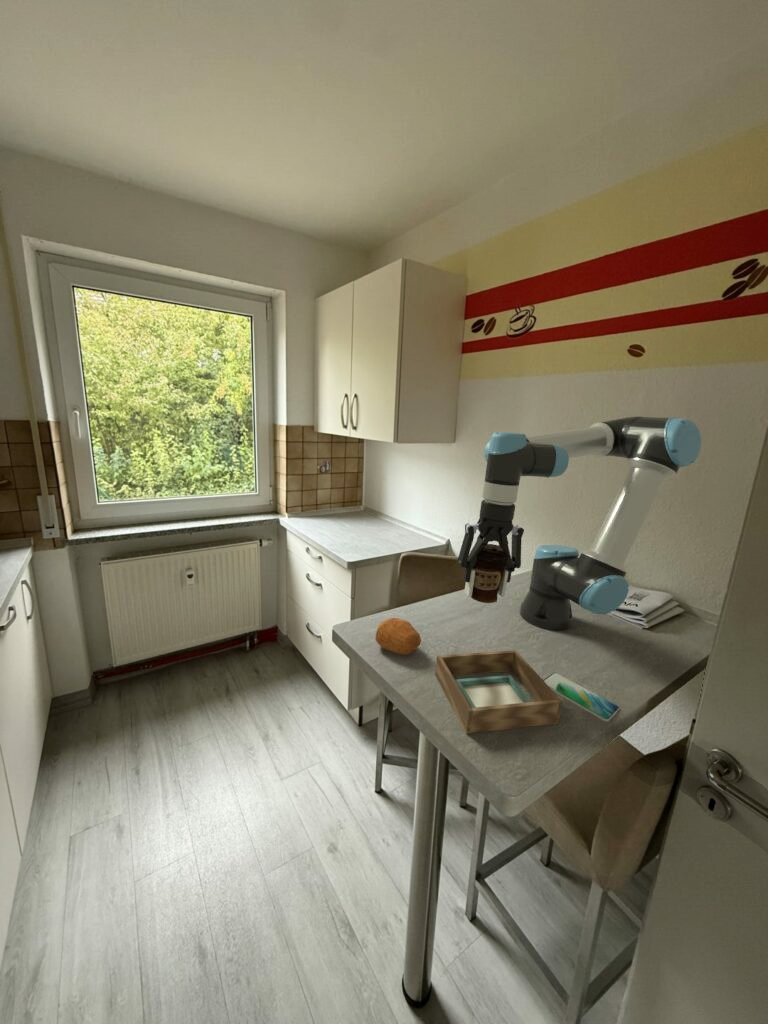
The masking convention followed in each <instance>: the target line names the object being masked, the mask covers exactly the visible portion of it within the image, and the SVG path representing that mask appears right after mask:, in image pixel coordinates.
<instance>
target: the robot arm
mask: <svg viewBox="0 0 768 1024" xmlns="http://www.w3.org/2000/svg"><path fill="white" fill-rule="evenodd" d="M701 447H702V437H701V431H700V428H699V427H698V425H697V423H695V422H694V421H693V420H690V419H688V418H678V417H674V416H672V417H660V416H659V417H652V416H651V417H650V416H628V417H623V418H617V419H611V420H605V421H600V422H595V423H593V424H591V425H590V426H589V427H584V428H578V429H577V428H576V429H572V430H568V429H567V430H563V431H556V432H555V431H554V432H549V433H542V434H535V435H528V436H527V435H526V434H525V433H519V432H518V433H517V432H509V431H508V432H506V431H495V432H494V433H493V434H491V437H490V440H488V442H487V443H486V445H485V448H484V451H483V454H484V459H485V461H486V468H485V476H484V482H483V488H482V495H481V496H482V498H483V500H482V501H481V503H480V508H479V509H480V510H479V518H478V521H477V523H473V524H470V523H466V524H465V525H464V537H463V539H462V544H461V547H460V550H459V554H458V557H457V561H456V562H457V563H458V565H459V566H460V567H461V568H464V569H463V577H462V579H463V581H464V583H465V585H464V593H465V594H466V595H467V597H469V598H471V597H472V591H473V584H474V577H475V570H474V569H473V567H474V565H475V563H476V561H477V557H476V556H477V555H478V554H479V552H480V551H481V552H482V550H481V549H484V547H485V546H486V545H487V544H489V542H497V543H498V545H499V547H500V548H501V549H503V550H506V553H507V554H508V556H509V558H508V560H507V562H506V564H505V568H504V573H503V578H502V581H501V583H500V587H499V591H498V593H497V594H498V595H499V596H500V597H501V598H505V595H506V590H507V589H506V588H507V584H508V583H510V582H511V577H512V573H513V572H515V569H520V568H521V566H522V538H523V535H524V533H525V529H524V528H523V527H522V526H519V525H514V523H513V520H514V517H515V511H516V505H515V503H517V499H518V494H519V493H518V492H519V488H520V487H519V486H520V481H521V477H537V478H540V477H541V478H548V479H549V478H556V477H559V476H562V475H563V474H564V473H565V472H566V470H567V468H568V467H569V461H570V459H573V458H579V457H586V456H590V455H591V456H594V457H599V458H601V457H606V456H607V457H618V458H622V459H626V463H627V464H628V467H629V469H628V471H627V474H626V475H625V477H624V479H623V482H622V484H621V486H620V488H619V489H618V492H617V493H616V496H615V498H614V500H613V502H612V504H611V506H610V507H609V510H608V512H607V514H606V515H605V516H606V517H605V518H604V520H603V522H602V525H601V526H600V528H599V530H598V532H597V534H596V536H595V539H594V540H593V542H592V545H591V547H590V548H589V549H587V550H583V551H581V553H580V552H579V549H577V548H575V547H571V546H566V545H559V544H543V545H540V546H538V547H537V548H536V550H535V554H534V557H533V564H532V570H531V578H530V583H529V588H528V591H527V593H526V595H525V598H524V599H523V601H522V602H521V603H520V607H519V615H520V617H521V618H522V619H524V620H525V621H526V622H528V623H529V624H531V625H534V626H536V627H539V628H542V629H547V630H551V631H562V630H567V629H570V627H571V626H572V624H573V611H572V606H571V602H573V603H574V604H577V605H578V606H580V607H581V608H582V609H585V610H587V611H590V612H591V613H593V614H596V615H607V614H609V613H611V612H614V611H615V610H617V609H618V608H619V607H621V605H622V604H623V603H624V602H625V600H626V599H627V597H628V594H629V587H630V585H629V584H630V583H629V582H628V580H627V579H626V578H625V577H626V574H627V572H628V571H627V568H626V566H625V561H626V560H627V558H628V556H629V553H630V551H631V549H632V547H633V546H634V544H635V541H636V540H637V537H638V536H639V534H640V532H641V530H642V527H643V525H644V524H645V522H646V519H647V517H648V515H649V513H650V512H651V510H652V508H653V505H654V504H655V502H656V500H657V498H658V496H659V494H660V492H661V490H662V488H663V486H664V484H665V482H666V480H668V479H671V478H673V477H675V476H676V475H677V473H678V472H679V470H680V468H685V467H689V466H691V465H692V464H693V463H695V461H696V460H697V458H698V457H699V455H700V451H701ZM477 530H478V532H479V533H478V536H477V538H476V541H475V543H474V545H473V542H474V538H475V535H476V533H477ZM510 533H511V553H510V548H509V539H508V537H507V536H508V535H510ZM472 545H473V546H472ZM471 548H472V549H471ZM579 553H580V554H579Z"/></svg>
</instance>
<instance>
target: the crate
mask: <svg viewBox="0 0 768 1024" xmlns="http://www.w3.org/2000/svg"><path fill="white" fill-rule="evenodd" d="M434 670H435V673H434V676H435V678H436V680H437V681H438V683H439V685H440V687H441V689H442V691H443V692H444V695H445V696H446V699H447V700H448V702H449V704H450V707H451V708H452V710H453V712H454V713H455V716H456V717H457V720H458V722H459V723H460V726H461V727H462V729H463V730H464V733H465V734H466V735H467V734H475V733H485V732H493V731H501V730H511V729H517V728H521V729H522V728H528V727H529V728H530V727H536V726H545V725H547V726H548V725H553V724H559V722H560V719H561V718H560V717H561V712H562V707H563V703H564V702H563V701H562V699H561V698H560V697H559V695H558V694H556V693H554V692H553V691H552V690H551V688H550V687H549V686H548V685H547V684H546V683H545V682H544V681H543V680H544V679H543V678H542V677H541V676H540V675H539V674H538V673H537V671H536V670H534V669H533V668H532V667H531V665H530V664H529V663H528V662H527V661H526V659H525V658H523V656H522V655H521V654H520V653H518V651H517V650H516V649H515V650H499V651H487V652H470V653H469V652H468V653H458V654H457V653H456V654H454V653H453V654H443V655H442V654H441V655H439V654H438V655H437V656H436V663H435V669H434ZM499 672H512V674H513V675H514V676H515V677H516V678H517V680H519V683H521V684H522V686H523V687H524V688H525V689H526V690H527V692H528V693H529V694H530V696H532V698H533V699H534V700H535V701H532V700H531V698H529V696H528V694H526V692H525V691H524V689H522V687H521V686H520V685H519V684H518V682H517V681H516V680H515V679H514V677H513V676H512V675H511V674H508V675H506V674H504V675H495V676H494V675H493V676H483V677H470V678H458V679H455V678H454V676H463V675H475V674H487V673H499Z"/></svg>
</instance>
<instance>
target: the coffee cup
mask: <svg viewBox="0 0 768 1024" xmlns="http://www.w3.org/2000/svg"><path fill="white" fill-rule="evenodd" d="M481 550H482V552H481V551H480V552H479V554H478V555H477V556H476V557H477V561H476V563H475V565H474V567H473V569H474V570H475V577H474V584H473V591H472V597H470V598H471V599H472V600H474V601H476V602H480V603H483V604H495V603H497V602H498V595H499V594H498V591H499V587H500V583H501V581H502V578H503V573H504V568H505V564H506V562H507V560H508V558H509V556H508V554H507V553H506V550H503V549H501V548H500V547H499V544H498V545H497V544H494V543H488V544H487V545H486V546H485V547H484V549H481Z"/></svg>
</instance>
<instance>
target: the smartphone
mask: <svg viewBox="0 0 768 1024" xmlns="http://www.w3.org/2000/svg"><path fill="white" fill-rule="evenodd" d="M542 680H543V681H544V682H545V683H546V684H547V685H548V686H549V687H550V688H551V690H552V691H553V692H554V693H555V694H556V695H557V696H560V697H562V698H563V699H565V700H567V701H569V702H570V703H571V704H573V705H575V706H578V707H579V708H581V710H584V711H586V712H587V713H589V714H591V715H593V716H595V717H596V718H598V719H599V720H602V721H603V722H607V723H609V722H610V721H611V720H612V718H613V717H614V716H615V715H616V714H617V713H618V712H619V711H620V705H618V704H616V703H614V702H612V701H610V700H608V699H606V698H604V697H602V696H600V695H598V694H597V693H595V692H593V691H592V690H590V689H588V688H586V687H584V686H582V685H580V684H578V683H576V682H575V681H573V680H570V679H569V678H567V677H565V676H563V675H561V674H560V673H558V672H552V673H551V674H549V675H548V676H547V677H546V678H544V679H542ZM618 710H619V711H618ZM617 711H618V712H617ZM616 712H617V713H616Z"/></svg>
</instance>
